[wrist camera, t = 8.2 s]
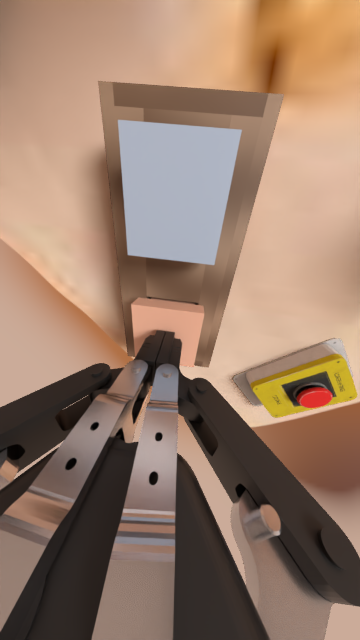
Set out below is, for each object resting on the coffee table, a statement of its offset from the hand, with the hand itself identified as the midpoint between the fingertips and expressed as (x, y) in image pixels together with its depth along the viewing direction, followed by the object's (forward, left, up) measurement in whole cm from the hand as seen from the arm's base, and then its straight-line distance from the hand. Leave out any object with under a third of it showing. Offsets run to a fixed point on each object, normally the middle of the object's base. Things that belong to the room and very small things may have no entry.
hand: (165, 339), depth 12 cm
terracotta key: (0, 0, -4) cm, 4 cm away
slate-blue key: (-9, 0, -4) cm, 10 cm away
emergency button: (+9, +19, -8) cm, 22 cm away
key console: (-5, 0, -7) cm, 8 cm away
